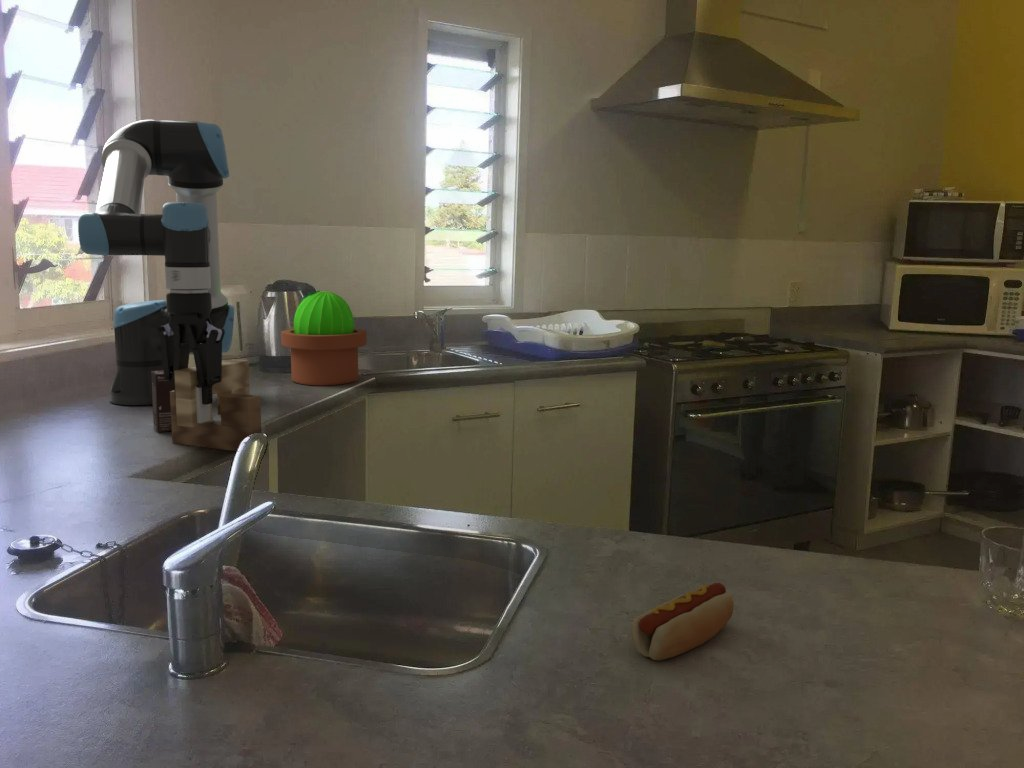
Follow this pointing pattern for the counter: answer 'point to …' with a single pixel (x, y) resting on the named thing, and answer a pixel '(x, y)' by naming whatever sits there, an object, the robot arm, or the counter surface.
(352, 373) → the potted cactus
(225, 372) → the arched wooden block
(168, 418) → the box
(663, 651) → the food
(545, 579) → the counter surface
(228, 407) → the notched wooden block
